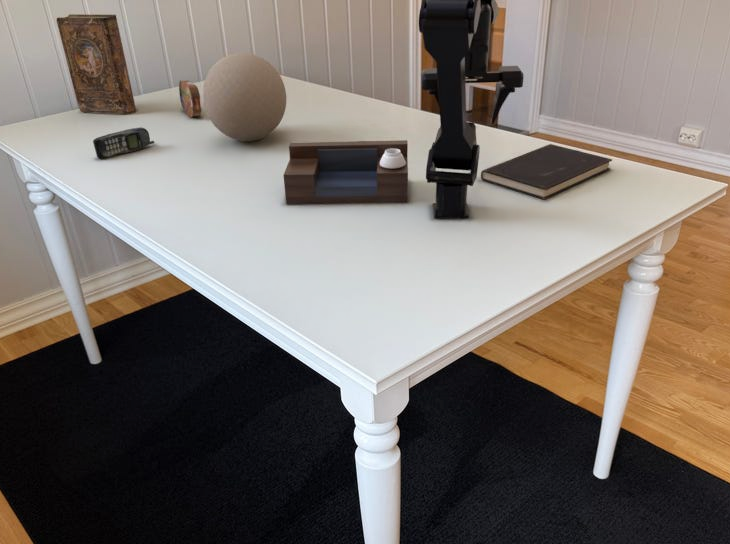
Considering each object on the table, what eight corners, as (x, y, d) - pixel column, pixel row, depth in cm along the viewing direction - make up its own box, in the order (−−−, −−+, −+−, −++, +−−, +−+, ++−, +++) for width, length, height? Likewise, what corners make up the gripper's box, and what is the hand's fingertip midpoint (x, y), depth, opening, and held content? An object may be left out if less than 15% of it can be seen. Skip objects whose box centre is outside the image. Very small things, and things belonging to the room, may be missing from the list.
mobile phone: (94, 140, 159) (153, 125, 166) (89, 137, 161) (148, 122, 168) (100, 161, 162) (158, 145, 169) (95, 158, 164) (152, 142, 171)
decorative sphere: (196, 150, 165) (181, 62, 154) (228, 126, 181) (216, 45, 170) (274, 153, 161) (265, 63, 150) (299, 128, 177) (293, 45, 165)
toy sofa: (407, 202, 133) (408, 159, 128) (286, 204, 135) (282, 162, 130) (407, 180, 143) (407, 140, 138) (293, 182, 145) (290, 142, 140)
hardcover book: (610, 169, 144) (612, 159, 142) (544, 200, 132) (546, 188, 130) (546, 153, 154) (548, 143, 152) (480, 180, 142) (481, 169, 140)
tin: (181, 108, 198) (175, 77, 193) (191, 106, 199) (186, 76, 194) (193, 120, 187) (188, 88, 182) (205, 119, 188) (200, 87, 183)
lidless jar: (410, 164, 133) (390, 160, 136) (410, 149, 132) (390, 145, 134) (395, 172, 130) (374, 167, 133) (395, 156, 129) (374, 152, 131)
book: (139, 109, 199) (119, 14, 184) (128, 114, 194) (107, 17, 180) (90, 107, 203) (67, 14, 189) (79, 112, 199) (55, 17, 184)
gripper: (518, 28, 131) (510, 111, 140) (421, 31, 132) (419, 113, 141) (527, 39, 122) (518, 127, 131) (423, 42, 123) (421, 129, 132)
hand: (468, 124), depth 134 cm, fingers open, 9 cm apart
